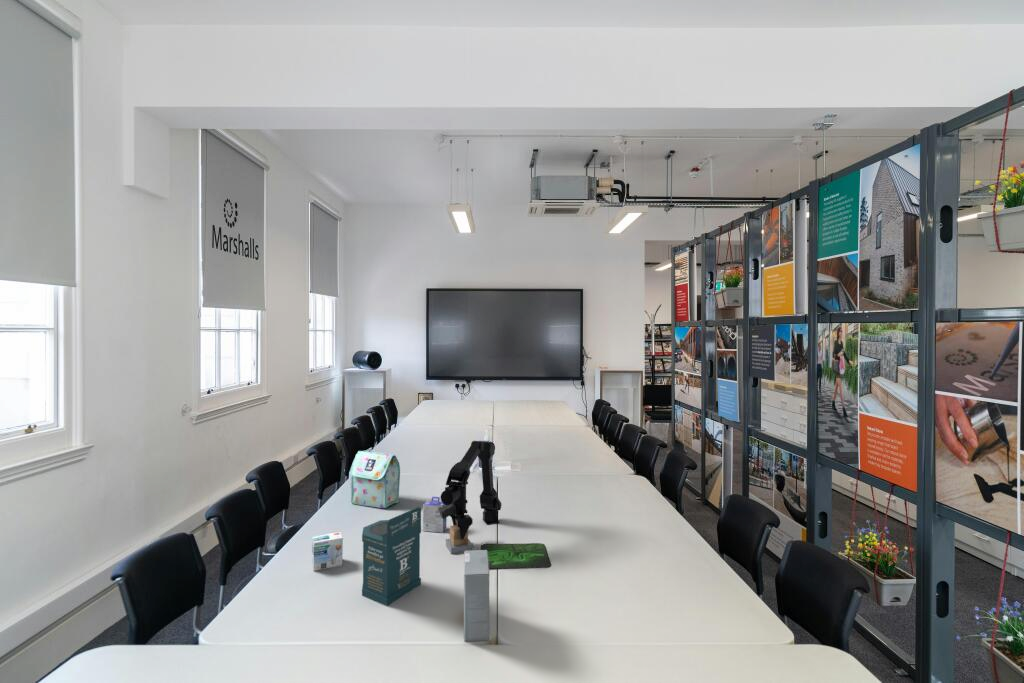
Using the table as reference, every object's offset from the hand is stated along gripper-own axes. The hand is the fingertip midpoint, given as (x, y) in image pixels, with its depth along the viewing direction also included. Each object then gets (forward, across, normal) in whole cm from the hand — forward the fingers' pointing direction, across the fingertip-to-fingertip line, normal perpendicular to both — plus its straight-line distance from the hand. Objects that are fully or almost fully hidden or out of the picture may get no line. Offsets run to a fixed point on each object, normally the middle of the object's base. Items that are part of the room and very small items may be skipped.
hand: (459, 534), depth 203 cm
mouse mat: (+6, +15, +19) cm, 25 cm away
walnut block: (+3, 0, 0) cm, 3 cm away
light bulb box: (+6, -4, -51) cm, 51 cm away
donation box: (+6, +22, -32) cm, 39 cm away
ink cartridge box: (+6, -22, -5) cm, 23 cm away
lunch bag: (+6, -67, -26) cm, 72 cm away
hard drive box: (+6, +54, -10) cm, 55 cm away
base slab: (+6, 0, 0) cm, 6 cm away
